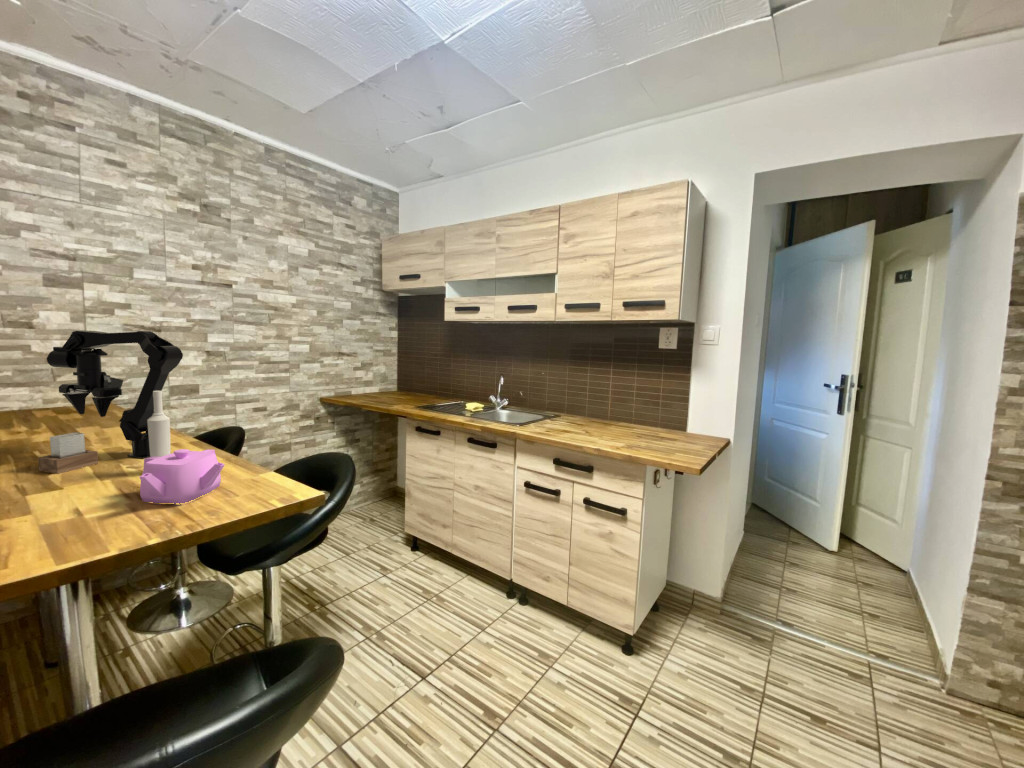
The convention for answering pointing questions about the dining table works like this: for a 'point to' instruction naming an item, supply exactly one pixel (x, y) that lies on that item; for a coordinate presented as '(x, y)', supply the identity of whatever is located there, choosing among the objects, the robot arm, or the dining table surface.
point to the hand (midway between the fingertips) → (92, 415)
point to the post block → (67, 462)
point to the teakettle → (180, 476)
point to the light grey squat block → (67, 445)
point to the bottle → (159, 429)
